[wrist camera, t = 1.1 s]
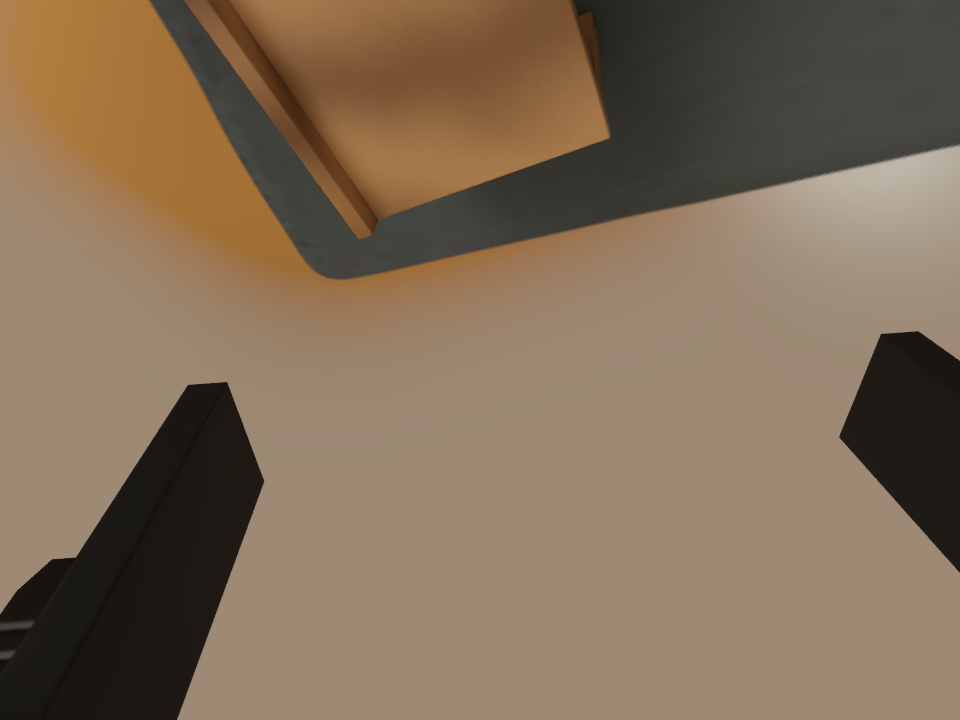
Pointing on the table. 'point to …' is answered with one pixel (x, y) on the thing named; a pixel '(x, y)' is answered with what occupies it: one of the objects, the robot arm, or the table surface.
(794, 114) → the table surface
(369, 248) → the table surface
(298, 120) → the plant stand
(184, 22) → the table surface
